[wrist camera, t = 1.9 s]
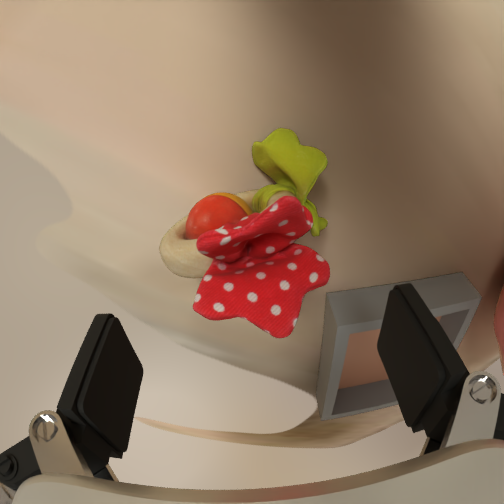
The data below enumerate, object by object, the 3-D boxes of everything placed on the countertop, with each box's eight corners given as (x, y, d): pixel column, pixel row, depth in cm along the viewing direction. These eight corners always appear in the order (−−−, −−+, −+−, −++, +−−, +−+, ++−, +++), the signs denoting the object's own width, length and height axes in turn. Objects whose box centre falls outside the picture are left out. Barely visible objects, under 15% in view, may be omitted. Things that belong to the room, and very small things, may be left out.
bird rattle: (238, 231, 22) (362, 208, 17) (161, 361, 14) (335, 379, 10) (196, 156, 19) (328, 111, 14) (79, 273, 11) (266, 242, 7)
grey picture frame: (326, 293, 23) (337, 326, 20) (462, 272, 22) (482, 297, 19) (315, 394, 31) (320, 420, 28) (419, 372, 31) (429, 395, 28)
